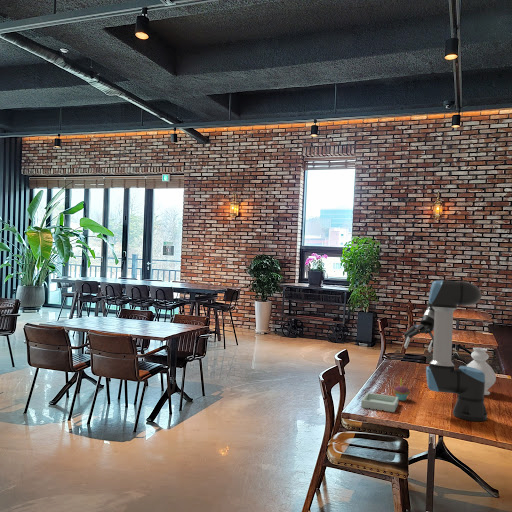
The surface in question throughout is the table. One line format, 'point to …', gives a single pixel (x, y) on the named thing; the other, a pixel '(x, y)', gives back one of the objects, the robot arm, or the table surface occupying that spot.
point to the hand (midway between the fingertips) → (416, 349)
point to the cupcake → (401, 391)
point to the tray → (379, 402)
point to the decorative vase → (483, 367)
